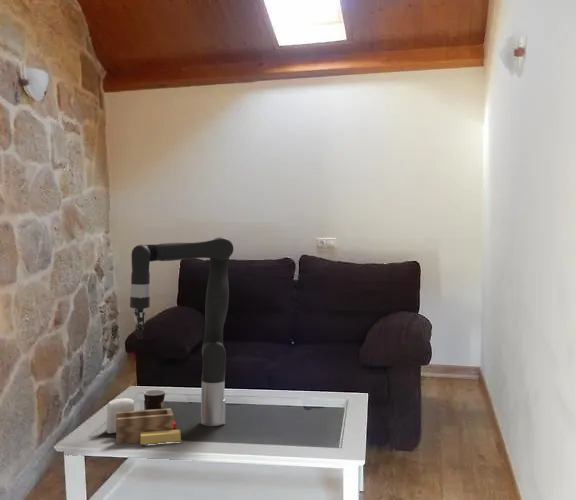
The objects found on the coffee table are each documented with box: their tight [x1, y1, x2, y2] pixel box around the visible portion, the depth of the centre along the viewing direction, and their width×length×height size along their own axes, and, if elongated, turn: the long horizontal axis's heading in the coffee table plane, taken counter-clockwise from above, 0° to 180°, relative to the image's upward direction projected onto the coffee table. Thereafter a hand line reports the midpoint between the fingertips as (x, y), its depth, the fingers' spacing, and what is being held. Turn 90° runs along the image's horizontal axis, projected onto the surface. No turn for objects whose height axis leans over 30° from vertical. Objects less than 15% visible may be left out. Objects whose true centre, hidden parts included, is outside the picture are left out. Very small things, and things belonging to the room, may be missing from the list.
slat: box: [139, 429, 182, 445], centre depth 207 cm, size 14×4×3 cm, turn 107°
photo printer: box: [106, 397, 135, 434], centre depth 219 cm, size 10×4×12 cm, turn 123°
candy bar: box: [173, 419, 178, 430], centre depth 229 cm, size 16×4×3 cm, turn 24°
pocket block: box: [115, 407, 174, 445], centre depth 212 cm, size 20×9×9 cm, turn 108°
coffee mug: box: [143, 389, 166, 410], centre depth 237 cm, size 12×9×10 cm
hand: (139, 336), depth 224 cm, fingers open, 8 cm apart
